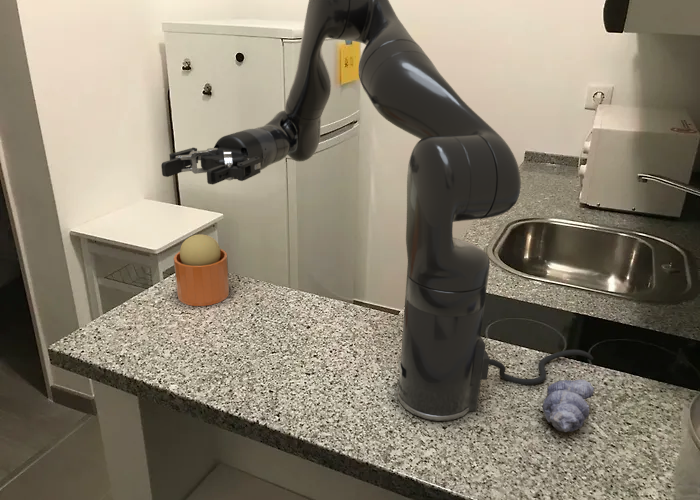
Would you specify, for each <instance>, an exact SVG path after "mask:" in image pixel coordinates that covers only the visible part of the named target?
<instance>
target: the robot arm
mask: <svg viewBox="0 0 700 500" xmlns="http://www.w3.org/2000/svg"><path fill="white" fill-rule="evenodd" d="M306 7H307V8H306V13H305V19H304V24H303V28H302V29H303V30H302V35H301V41H300V46H299V53H298V60H297V66H296V70H295V75H294V78H293V81H292V84H291V86H290V88H289V89H290V90H289V92H288V95H287V98H286V101H285V105H284V110H280V111H278V112H277V113H276V114H275V115H274V116H273V117H272V118H271V119H270V120H269V121H268V122H267V123H266V124H264V125H261V126H259V127H256V128H247V129H243V130H240V131H237V132H233V133H230V134H226V135H224V136H221V137H219V139H218V140H217V141H216V143H215V144H214V146H213V147H209V148H207V149H203V150H198V148H197V147H189V148H187V149H183V150H179V151H176V152H171V153H169V154H168V155H169V160H166V161H163V162H161V166H160V167H161V175H162V176H163V177H166V178H169V177H172V176H175V175H178V174H181V173H186V172H192V173H193V174H206V182H207V184H208V185H213V186H214V185H216V184H218V183H221V182H224V181H232V180H237V181H240V182H243V181H246V180H248V179H250V178H253V177H255V176H257V175H259V174H261V171H262V170H264V169H266V168H268V167H269V166H271V165H273V164H276V163H278V162H280V161H282V160H284V159H285V158H286V157H287V156H288V157H289V158H290V159H292V160H293V161H295V162H299V163H300V162H305V161H308V160H310V159H311V158H312V157H313V155H314V154H315V153H316V152H317V149H318V148H319V145H320V140H321V128H322V127H321V126H322V115H323V113H324V111H325V109H326V106H327V104H328V101H329V99H330V97H331V93H332V80H331V75H330V71H329V69H328V67H327V64H326V60H325V58H324V54H323V45H324V42H325V40H327V39H332V40H341V41H349V42H356V43H362V44H363V45H364V46H365V47H364V48H363V50H362V53H361V55H360V57H359V62H358V79H359V82H360V85H361V87H362V89H363V91H364V92H365V94H366V95H367V97H368V99H369V101H370V102H371V104H372V106H373V107H374V108H375V110H376V111H377V113H378V114H379V115H380V116H382V117H383V118H384V119H385V120H386V121H388V122H389V123H390V124H392V125H394V126H395V127H397V128H399V129H400V130H402V131H403V132H406V133H408V134H409V135H412V136H413V137H416V138H418V139H420V140H418V141H417V142H416V144H415V145H414V147H413V148H412V150H411V153H410V156H409V160H408V166H407V173H406V178H407V179H406V225H405V247H406V256H407V265H406V267H407V268H406V280H405V282H406V283H405V295H404V296H405V297H404V310H403V322H402V336H401V337H402V338H401V350H400V358H398V359H397V362H398V363H397V367H398V372H399V374H398V375H399V376H398V385H397V392H396V393H397V395H396V396H397V399H398V401H399V403H400V405H401V406H402V407H403V408H404V409H405V410H406V411H407V412H408V413H410V414H412V415H414V416H416V417H419V418H421V419H425V420H429V421H435V422H436V421H437V422H445V421H453V420H456V419H460V418H462V417H464V416H465V415H466V414H468V413H469V412H476V411H477V409H478V405H479V395H480V388H481V381H487V379H488V376H489V367H490V366H493V367H495V368H498V369H499V370H498V375H499V377H501V379H502V380H505V381H507V382H510V383H515V384H519V385H525V386H531V385H538V384H541V383H543V382H544V381H545V380H546V379H547V370H546V367H545V365H546V364H548V363H549V362H551V361H554V360H556V359H558V358H562V357H567V356H581V357H584V358H586V359H587V360H590V361H592V360H594V356H592V354H590V352H587V351H585V350H581V349H565V350H561V351H557V352H554V353H551V354H549V355H547V356H545V357H543V358H541V360H539V363H538V369H539V373H540V375H539V376H538V377H535V378H519V377H516V376H512V375H510V374H508V373H506V366H505V365H504V364H503V363H502V362H501V361H498V360H496V359H492V358H491V357H490V356H489V355H488V353H487V351H486V343H485V341H484V339H483V338H482V336H481V335H482V334H481V333H482V327H483V319H484V312H485V304H486V297H487V289H488V280H489V275H490V266H491V264H490V263H491V262H490V257H489V256H488V253H486V251H485V250H484V249H482V248H481V247H479V246H478V245H476V244H474V243H472V242H469V241H466V240H464V239H460V238H457V237H453V225H454V224H453V223H456V222H457V223H458V222H466V221H475V220H486V219H490V218H494V217H498V216H501V215H504V214H506V213H507V212H509V211H510V210H511V209H512V208H513V207H514V206H516V203H517V201H518V200H519V197H520V194H521V187H522V179H521V173H520V172H521V171H520V167H519V164H518V161H517V159H516V157H515V154H514V153H513V151H512V148H511V147H510V146H509V144H508V143H507V141H506V140H505V139H504V138H503V137H502V136H501V134H499V133H498V132H497V131H496V130H495V129H494V128H493V127H492V126H490V125H489V123H488V122H487V121H485V120H484V119H483V118H482V117H481V116H480V115H479V114H478V113H476V111H474V110H473V108H471V107H470V106H469V105H468V104H467V102H465V101H464V100H463V98H461V96H460V94H458V93H457V91H455V89H454V88H453V86H451V84H450V83H449V82H448V81H447V80H446V79H445V77H444V76H443V75H442V74H441V73H440V71H439V70H438V69H437V67H436V66H435V64H434V62H433V61H432V60H431V58H429V56H428V55H427V54H426V52H425V50H423V49H422V47H421V46H420V45H419V44H418V43H417V42H416V41H415V39H414V38H413V37H412V35H411V34H410V33H409V31H408V30H407V29H406V28H405V26H404V24H403V23H402V22H401V20H400V18H399V17H398V15H397V14H396V12H395V10H394V8H393V7H392V4H391V1H390V0H308V3H307V6H306ZM199 161H200V167H198V164H199Z"/></svg>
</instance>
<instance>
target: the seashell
mask: <svg viewBox="0 0 700 500" xmlns="http://www.w3.org/2000/svg"><path fill="white" fill-rule="evenodd" d="M594 392H595V387H594V386H593V385H592V382H590V381H587V380H586V379H575V380H574V379H573V380H571V379H568V380H567V379H564V380H563V379H562V380H558V381H555V382H553V383H551V384H549V386H548V387H547V391H546V393H547V394H546V395H547V396H546V397H545V398H544V400H543V402H542V412H543V414H544V416H545V419H546V421H547V422H548V423H551V425H552V426H553V428H554V429H555V430H556V431H558V432H564V433H567V432H571V433H572V432H575V431H577V430H581V428H582V427H583V426H584V423H585V421H586V420H587V418H588V417H589V415H590V405H589V404H588V402H587V401H586V400H587V399H591V398H592V397H593V395H594Z"/></svg>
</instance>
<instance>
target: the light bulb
mask: <svg viewBox="0 0 700 500" xmlns="http://www.w3.org/2000/svg"><path fill="white" fill-rule="evenodd" d="M220 249H221V247H220V245H219V243H218V241H217V240H216V239H215V238H214V237H212V236H210V235H207V234H201V233H200V234H194V235H191V236H189V237H187V238H186V239H185V240H183V242H182V243H181V246H180V249H179V252H180V258H181V261H182V263H183V264H185V265H190V266H203V265H210V264H213V263H216V262H218V261H219V259H220Z"/></svg>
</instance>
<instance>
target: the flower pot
mask: <svg viewBox="0 0 700 500" xmlns="http://www.w3.org/2000/svg"><path fill="white" fill-rule="evenodd" d="M228 261H229V260H228V253H227V252H226V251H225V250H224V249H222V248H220V259H219V261H218V262H216V263H213V264H210V265H203V266H190V265H185V264H183V263H182V261H181V258H180V251H177V253H176V254H174V257H173V265H174V267H173V268H174V275H175V285H176V295H177V299H178V301H179V302H180V303H182V304H184V305H187V306H192V307H205V306H211V305H215V304H219V303H221V302H223V301H225V300H226V299H227V298H228V297H229V295H230V278H229V277H230V276H229V264H228Z"/></svg>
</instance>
